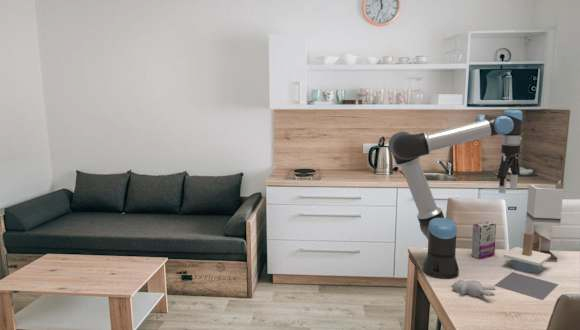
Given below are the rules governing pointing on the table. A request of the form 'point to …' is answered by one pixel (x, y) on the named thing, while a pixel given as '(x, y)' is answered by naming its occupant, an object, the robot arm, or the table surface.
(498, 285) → the rubber mat
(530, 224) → the display case
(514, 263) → the slate bowl
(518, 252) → the cream lid
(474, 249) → the candy bar box
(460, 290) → the bunny figurine
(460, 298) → the table surface
